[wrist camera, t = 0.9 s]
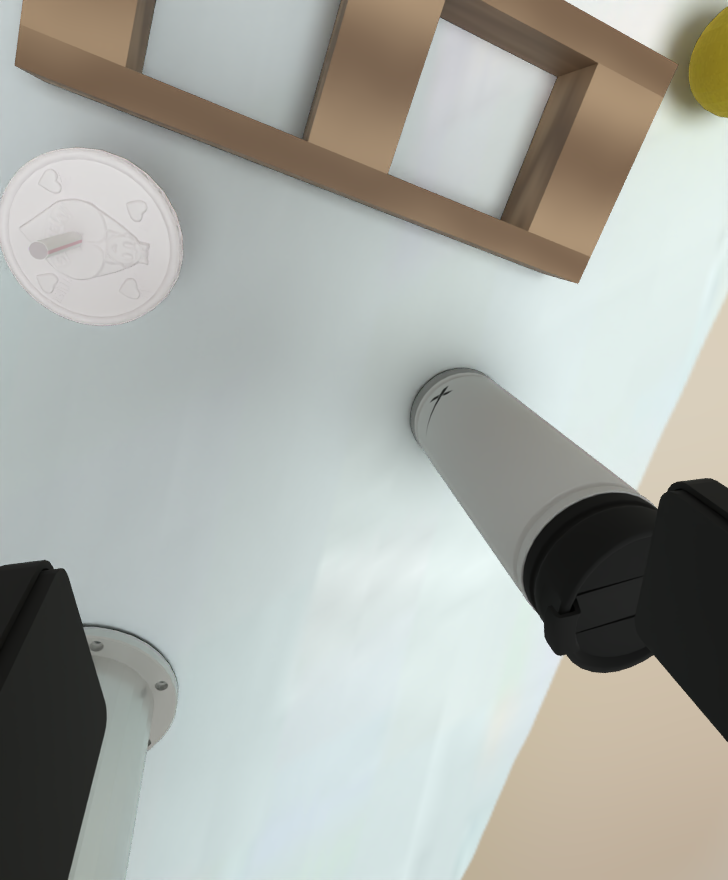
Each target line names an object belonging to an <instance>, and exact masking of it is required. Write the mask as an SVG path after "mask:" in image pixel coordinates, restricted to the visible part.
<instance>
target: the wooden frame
mask: <svg viewBox="0 0 728 880" xmlns="http://www.w3.org/2000/svg"><path fill="white" fill-rule="evenodd" d="M155 2H156V0H23V4H22V12H21V19H20V27H19V35H18V43H17V51H16V58H15V66H16V67H18V68H20V69H22V70H24V71H26V72H28V73H30V74H32V75H33V76H35V77H37V78H39V79H41V80H43V81H45V82H47V83H50V84H53V85H55V86H58V87H60V88H63V89H66V90H68V91H71V92H73V93H76V94H78V95H81V96H84V97H86V98H89V99H91V100H94V101H97V102H99V103H102V104H104V105H107V106H110V107H112V108H115V109H117V110H120V111H123V112H125V113H128V114H130V115H133V116H136V117H138V118H141V119H143V120H146V121H149V122H151V123H154V124H156V125H159V126H162V127H164V128H167V129H169V130H172V131H174V132H177V133H180V134H182V135H185V136H187V137H190V138H193V139H195V140H198V141H200V142H203V143H206V144H208V145H211V146H213V147H216V148H219V149H221V150H224V151H226V152H229V153H232V154H234V155H237V156H239V157H242V158H245V159H247V160H250V161H252V162H255V163H257V164H260V165H263V166H265V167H268V168H270V169H273V170H276V171H278V172H281V173H283V174H286V175H289V176H291V177H294V178H296V179H299V180H302V181H304V182H307V183H309V184H312V185H315V186H317V187H320V188H322V189H325V190H328V191H330V192H333V193H335V194H338V195H341V196H343V197H346V198H348V199H351V200H353V201H356V202H359V203H361V204H364V205H366V206H369V207H372V208H374V209H377V210H379V211H382V212H385V213H387V214H390V215H392V216H395V217H398V218H400V219H403V220H405V221H408V222H411V223H413V224H416V225H418V226H421V227H424V228H426V229H429V230H431V231H434V232H437V233H439V234H442V235H444V236H447V237H449V238H452V239H455V240H457V241H460V242H462V243H465V244H468V245H470V246H473V247H475V248H478V249H481V250H483V251H486V252H488V253H491V254H494V255H496V256H499V257H501V258H504V259H507V260H509V261H512V262H514V263H517V264H520V265H522V266H525V267H527V268H530V269H533V270H535V271H538V272H540V273H543V274H546V275H549V276H553V277H556V278H560V279H563V280H567V281H570V282H574V283H577V284H578V283H579V281H580V279H581V276H582V274H583V272H584V270H585V268H586V265H587V263H588V261H589V259H590V257H591V255H592V252H593V250H594V248H595V246H596V244H597V241H598V239H599V237H600V235H601V233H602V230H603V228H604V226H605V224H606V222H607V220H608V217H609V215H610V213H611V211H612V209H613V206H614V204H615V202H616V200H617V198H618V196H619V193H620V191H621V189H622V187H623V185H624V182H625V180H626V178H627V176H628V174H629V171H630V169H631V167H632V165H633V163H634V161H635V158H636V156H637V154H638V152H639V150H640V147H641V145H642V143H643V141H644V139H645V137H646V134H647V132H648V130H649V128H650V126H651V123H652V121H653V119H654V117H655V115H656V112H657V110H658V108H659V106H660V104H661V102H662V99H663V97H664V95H665V93H666V91H667V88H668V86H669V84H670V82H671V80H672V77H673V75H674V73H675V71H676V69H677V67H678V64H677V63H675V62H673V61H671V60H670V59H668V58H666V57H664V56H662V55H661V54H659V53H657V52H655V51H653V50H652V49H650V48H648V47H646V46H645V45H643V44H641V43H639V42H637V41H636V40H634V39H632V38H630V37H628V36H627V35H625V34H623V33H621V32H620V31H618V30H616V29H614V28H612V27H611V26H609V25H607V24H605V23H604V22H602V21H600V20H598V19H596V18H595V17H593V16H591V15H589V14H587V13H586V12H584V11H582V10H580V9H579V8H577V7H575V6H573V5H571V4H570V3H568V2H566V1H564V0H341V3H340V6H339V10H338V14H337V17H336V21H335V24H334V28H333V31H332V35H331V38H330V42H329V46H328V49H327V53H326V56H325V60H324V63H323V67H322V70H321V74H320V78H319V81H318V85H317V88H316V92H315V95H314V99H313V102H312V106H311V110H310V113H309V117H308V120H307V124H306V127H305V131H304V134H303V138H302V139H300V138H298V137H295V136H293V135H290V134H288V133H286V132H283V131H281V130H278V129H276V128H273V127H271V126H268V125H266V124H263V123H261V122H259V121H256V120H254V119H251V118H249V117H246V116H244V115H241V114H239V113H237V112H234V111H232V110H229V109H227V108H224V107H222V106H219V105H217V104H214V103H212V102H210V101H207V100H205V99H202V98H200V97H197V96H195V95H192V94H190V93H187V92H185V91H183V90H180V89H178V88H175V87H173V86H170V85H168V84H165V83H163V82H160V81H158V80H156V79H153V78H151V77H148V76H146V75H143V74H142V70H143V65H144V60H145V54H146V49H147V44H148V39H149V34H150V28H151V23H152V18H153V13H154V8H155ZM440 17H441V18H443V19H445V20H447V21H449V22H451V23H453V24H455V25H457V26H458V27H460V28H462V29H464V30H466V31H468V32H470V33H472V34H474V35H476V36H478V37H480V38H482V39H484V40H486V41H488V42H490V43H492V44H494V45H496V46H498V47H500V48H502V49H504V50H506V51H507V52H509V53H511V54H513V55H515V56H517V57H519V58H521V59H523V60H525V61H527V62H529V63H531V64H533V65H535V66H537V67H539V68H541V69H543V70H545V71H547V72H549V73H551V74H553V75H554V76H556V77H557V79H556V82H555V84H554V87H553V89H552V92H551V94H550V97H549V99H548V102H547V104H546V107H545V109H544V112H543V114H542V117H541V119H540V122H539V124H538V127H537V129H536V132H535V134H534V137H533V139H532V142H531V144H530V147H529V149H528V152H527V154H526V157H525V159H524V162H523V164H522V167H521V169H520V172H519V174H518V177H517V179H516V182H515V184H514V187H513V189H512V192H511V194H510V197H509V199H508V202H507V204H506V207H505V209H504V212H503V214H502V217H501V219H500V220H499V219H497V218H494V217H492V216H489V215H487V214H484V213H482V212H479V211H477V210H474V209H472V208H470V207H467V206H465V205H462V204H460V203H457V202H455V201H452V200H450V199H448V198H445V197H443V196H440V195H438V194H435V193H433V192H430V191H428V190H425V189H423V188H421V187H418V186H416V185H413V184H411V183H408V182H406V181H403V180H401V179H398V178H396V177H394V176H391V175H389V174H388V172H389V169H390V166H391V163H392V160H393V157H394V154H395V151H396V148H397V145H398V141H399V138H400V135H401V132H402V129H403V126H404V123H405V120H406V117H407V114H408V111H409V108H410V105H411V102H412V99H413V96H414V93H415V90H416V87H417V84H418V81H419V78H420V75H421V72H422V69H423V66H424V63H425V60H426V57H427V54H428V51H429V48H430V45H431V42H432V39H433V36H434V33H435V30H436V27H437V24H438V21H439V18H440Z"/></svg>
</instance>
